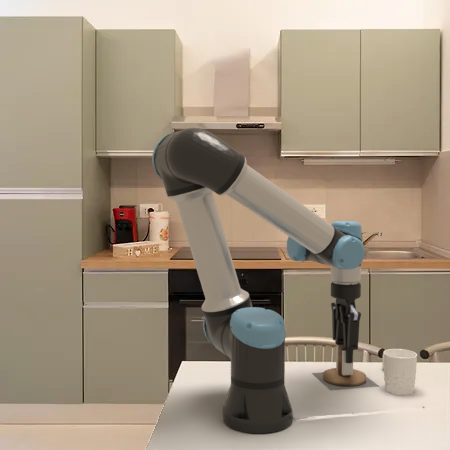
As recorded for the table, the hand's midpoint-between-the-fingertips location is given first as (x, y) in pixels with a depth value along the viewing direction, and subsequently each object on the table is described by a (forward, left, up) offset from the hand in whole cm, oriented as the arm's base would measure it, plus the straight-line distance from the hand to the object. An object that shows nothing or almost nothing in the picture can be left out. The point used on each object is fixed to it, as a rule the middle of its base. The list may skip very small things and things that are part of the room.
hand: (344, 372), depth 150 cm
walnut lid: (0, 0, -2) cm, 2 cm away
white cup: (+10, -10, -3) cm, 14 cm away
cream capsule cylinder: (+16, +4, -3) cm, 17 cm away
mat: (0, 0, -3) cm, 3 cm away
